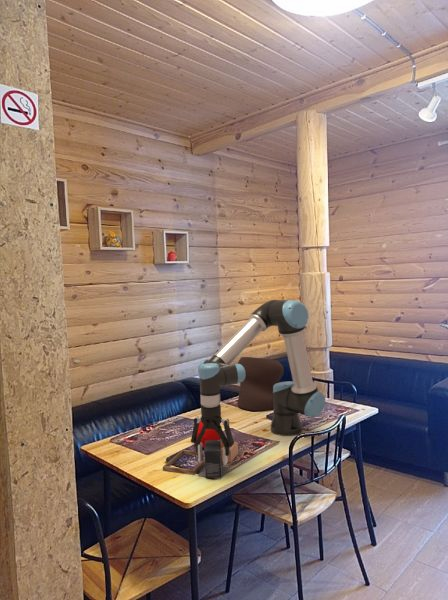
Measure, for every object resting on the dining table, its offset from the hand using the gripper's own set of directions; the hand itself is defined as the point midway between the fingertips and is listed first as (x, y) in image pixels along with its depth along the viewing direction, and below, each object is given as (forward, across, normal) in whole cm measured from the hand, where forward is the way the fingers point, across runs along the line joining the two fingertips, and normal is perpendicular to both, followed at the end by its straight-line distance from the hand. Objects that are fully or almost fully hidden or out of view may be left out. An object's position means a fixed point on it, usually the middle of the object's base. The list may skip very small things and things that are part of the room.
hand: (213, 462), depth 169 cm
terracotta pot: (+4, +1, -15) cm, 16 cm away
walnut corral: (+4, +13, -5) cm, 15 cm away
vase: (+4, +6, -89) cm, 89 cm away
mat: (+4, 0, 0) cm, 4 cm away
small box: (+4, 0, 0) cm, 4 cm away
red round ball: (+4, +13, -25) cm, 29 cm away
